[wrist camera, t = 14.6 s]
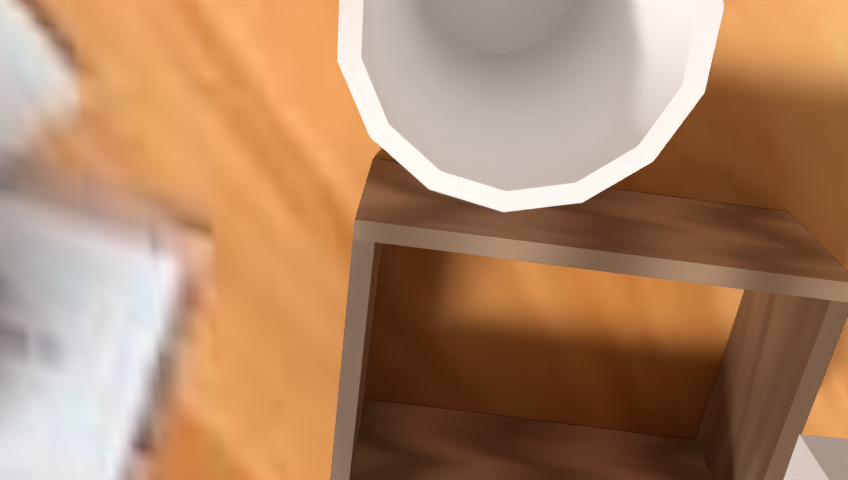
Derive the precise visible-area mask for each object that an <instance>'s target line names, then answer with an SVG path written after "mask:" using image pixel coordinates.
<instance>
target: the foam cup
mask: <svg viewBox="0 0 848 480" xmlns="http://www.w3.org/2000/svg"><path fill="white" fill-rule="evenodd" d="M723 9H724V3H723V0H339V29H338V57H337V61H338V63H339V66H340V68H341V70H342V73H343V75H344V77H345V80H346V82H347V84H348V87H349V89H350V91H351V94H352V96H353V98H354V101H355V103H356V105H357V108H358V110H359V112H360V115H361V117H362V119H363V122H364V124H365V126H366V129H367V131H368V133H369V136H370V137H371V138H372V139H373V140H374V141H375V142H376V143H378V144H379V145H380V146H381V147H382V148H383V149H384V150H385V151H386V152H388V153H389V154H390V155H391V156H392V157H393V158H394V159H395V160H397V161H398V162H399V163H400V164H401V165H402V166H403V167H404V168H406V169H407V170H408V171H409V172H410V173H411V174H412V175H413V176H414V177H416V178H417V179H418V180H419V181H420V182H421V183H422V184H423V185H425V186H426V187H427V188H428V189H429V190H433V191H436V192H439V193H442V194H446V195H449V196H452V197H456V198H459V199H462V200H465V201H469V202H472V203H475V204H478V205H482V206H485V207H488V208H491V209H495V210H498V211H501V212H509V211H518V210H526V209H534V208H542V207H551V206H559V205H567V204H575V203H583V202H584V201H586V200H588V199H589V198H591V197H593V196H595V195H596V194H598V193H600V192H602V191H603V190H605V189H607V188H608V187H610V186H612V185H614V184H615V183H617V182H619V181H620V180H622V179H624V178H626V177H627V176H629V175H631V174H632V173H634V172H636V171H638V170H639V169H641V168H643V167H645V166H646V165H648V164H650V163H651V162H653V161H654V160H655V159H656V157H657V156H658V155H659V153H660V152H661V151H662V149H663V148H664V147H665V145H666V144H667V142H668V141H669V140H670V138H671V137H672V136H673V134H674V133H675V132H676V130H677V129H678V128H679V126H680V125H681V124H682V122H683V121H684V120H685V118H686V117H687V116H688V114H689V113H690V112H691V110H692V109H693V108H694V106H695V105H696V104H697V102H698V101H699V100H700V98H701V97H702V96H703V94H704V93H705V89H706V85H707V80H708V76H709V71H710V67H711V62H712V58H713V54H714V49H715V45H716V40H717V36H718V31H719V27H720V23H721V18H722V14H723Z"/></svg>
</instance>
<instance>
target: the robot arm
mask: <svg viewBox="0 0 848 480" xmlns="http://www.w3.org/2000/svg"><path fill="white" fill-rule="evenodd" d="M783 480H848V439H844V438H833V437H822V436H811V435H800V434H799V437H798V440H797V443H796V445H795V448H794V451H793V454H792V457H791V460H790V462H789V465H788V468H787V471H786V474H785V477H784V479H783Z"/></svg>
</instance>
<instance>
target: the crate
mask: <svg viewBox="0 0 848 480" xmlns="http://www.w3.org/2000/svg"><path fill="white" fill-rule="evenodd" d="M382 243H385V244H393V245H401V246H408V247H416V248H424V249H432V250H440V251H448V252H456V253H463V254H471V255H479V256H487V257H495V258H503V259H510V260H518V261H526V262H534V263H542V264H550V265H558V266H565V267H573V268H581V269H589V270H597V271H605V272H613V273H620V274H628V275H636V276H644V277H652V278H660V279H668V280H675V281H683V282H691V283H699V284H707V285H715V286H723V287H730V288H738V289H745V290H744V293H743V296H742V300H741V303H740V306H739V309H738V312H737V315H736V318H735V321H734V324H733V327H732V330H731V333H730V336H729V340H728V343H727V346H726V349H725V352H724V355H723V358H722V361H721V364H720V367H719V370H718V373H717V376H716V380H715V383H714V386H713V389H712V392H711V395H710V398H709V401H708V404H707V407H706V410H705V413H704V417H703V420H702V423H701V426H700V429H699V432H698V435H697V438H696V440H691V439H683V438H675V437H667V436H659V435H651V434H643V433H635V432H627V431H619V430H611V429H603V428H595V427H587V426H579V425H571V424H563V423H554V422H546V421H538V420H530V419H522V418H514V417H506V416H498V415H490V414H482V413H474V412H466V411H458V410H450V409H442V408H434V407H426V406H418V405H410V404H402V403H393V402H385V401H377V400H369V399H365V392H366V383H367V374H368V365H369V356H370V347H371V338H372V329H373V320H374V311H375V302H376V293H377V284H378V275H379V266H380V257H381V248H382ZM847 316H848V271H847V270H846V269H845V268H844V267H843V266H842V265H841V264H840V263H839V262H838V261H837V260H836V259H835V258H834V257H833V256H832V255H831V254H830V253H829V252H828V251H827V250H826V249H825V248H824V247H823V246H822V245H821V244H820V243H819V242H818V241H817V240H816V239H815V238H814V237H813V236H812V235H811V234H810V233H809V232H808V231H807V230H806V229H805V228H804V227H803V226H802V225H801V224H800V223H799V222H798V221H797V220H796V219H795V218H794V217H793V216H792V215H791V214H790V213H789V212H787V211H780V210H772V209H764V208H756V207H749V206H741V205H733V204H725V203H718V202H710V201H702V200H694V199H687V198H679V197H671V196H663V195H656V194H648V193H640V192H632V191H625V190H617V189H609V188H607V189H605V190H603V191H602V192H600V193H598V194H596V195H595V196H593V197H591V198H589V199H588V200H586V201H584V202H583V203H575V204H567V205H559V206H551V207H542V208H534V209H526V210H518V211H509V212H501V211H498V210H495V209H491V208H488V207H485V206H482V205H478V204H475V203H472V202H469V201H465V200H462V199H459V198H456V197H452V196H449V195H446V194H442V193H439V192H436V191H433V190H429V189H428V188H427V187H426V186H425V185H423V184H422V183H421V182H420V181H419V180H418V179H417V178H416V177H414V176H413V175H412V174H411V173H410V172H409V171H408V170H407V169H406V168H404V167H403V166H402V165H401V164H400V163H399V162H398V161H392V160H384V159H377V158H373V161H372V164H371V167H370V171H369V174H368V177H367V181H366V184H365V187H364V191H363V194H362V197H361V201H360V204H359V207H358V211H357V214H356V218H355V224H354V234H353V245H352V255H351V266H350V277H349V287H348V298H347V308H346V319H345V329H344V340H343V350H342V361H341V372H340V382H339V393H338V403H337V414H336V424H335V435H334V445H333V456H332V467H331V477H330V480H783V479H784V477H785V474H786V471H787V468H788V465H789V462H790V460H791V457H792V454H793V451H794V448H795V445H796V443H797V440H798V437H799V434H800V435H801V434H802V431H803V429H804V426H805V424H806V421H807V418H808V416H809V413H810V411H811V408H812V406H813V403H814V401H815V398H816V395H817V393H818V390H819V388H820V385H821V383H822V380H823V377H824V375H825V372H826V370H827V367H828V365H829V362H830V360H831V357H832V354H833V352H834V349H835V347H836V344H837V342H838V339H839V337H840V334H841V331H842V329H843V326H844V324H845V321H846V319H847Z"/></svg>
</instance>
